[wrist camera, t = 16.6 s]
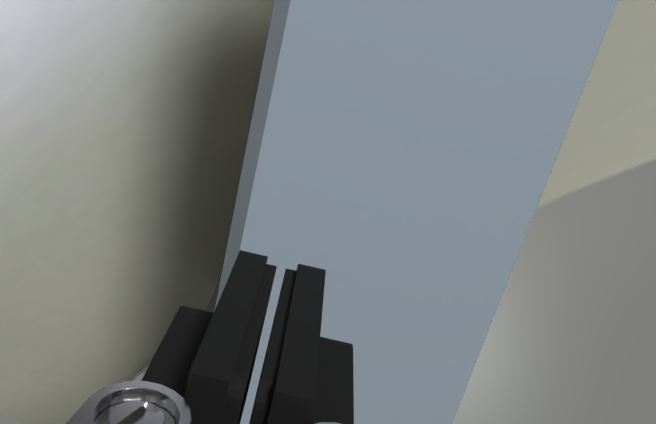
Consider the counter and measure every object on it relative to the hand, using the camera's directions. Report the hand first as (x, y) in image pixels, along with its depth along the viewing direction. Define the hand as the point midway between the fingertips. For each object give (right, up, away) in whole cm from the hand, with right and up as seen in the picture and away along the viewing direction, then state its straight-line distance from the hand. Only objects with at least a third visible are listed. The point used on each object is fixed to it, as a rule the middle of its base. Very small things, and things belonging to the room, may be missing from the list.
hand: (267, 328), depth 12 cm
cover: (+4, +5, +9) cm, 11 cm away
